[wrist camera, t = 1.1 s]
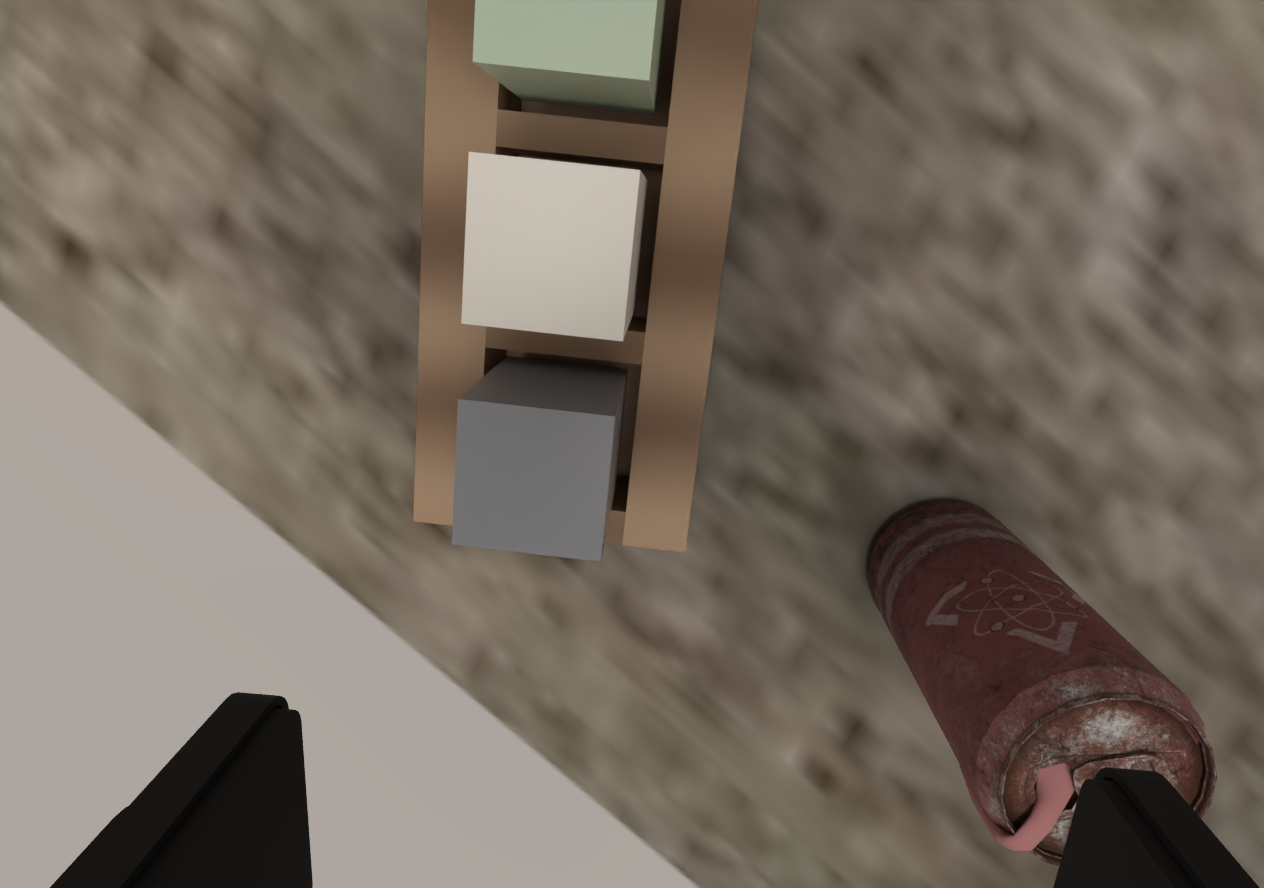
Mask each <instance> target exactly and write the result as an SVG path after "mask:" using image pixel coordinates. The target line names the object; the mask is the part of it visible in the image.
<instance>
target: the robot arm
mask: <svg viewBox="0 0 1264 888" xmlns="http://www.w3.org/2000/svg"><path fill="white" fill-rule="evenodd" d="M304 769H305V768H304V754H303V740H302V725H301V717H300V714H299V712H298V711H296V710H289V708H288V703H287V701H286V699H285V698H283V697H281V696H274V695H262V694H249V693H238V692H237V693H234V694H231V695H230V696H229V697H228V698H227V699H226V700H225V701H224V702H223V703H222V704H221V705H220V706H219V707H218V708H217V710H216V711H215V712H214V713H213V714H212V715H211V716H210V717H209V718H208V719H207V721H206V722H205V723H204V724H203V725H202V726H201V727H200V728H199V729H198V730H197V731H196V733H195V734H194V735H193V736H192V737H191V738H190V740H188V741H187V742H186V744H185V745H184V746H183V747H182V748H181V749H180V750H179V751H178V752H177V753H176V755H175V756H174V757H173V758H172V759H171V760H170V761H169V762H168V764H167V765H166V766H165V767H164V768H163V769H162V770H161V771H160V772H159V773H158V775H157V776H156V777H155V778H154V779H153V780H152V781H151V782H150V783H149V784H148V785H147V787H146V788H145V789H144V790H143V791H142V792H141V793H140V794H139V795H138V796H137V798H136V799H135V800H134V801H133V802H132V803H131V804H130V805H129V806H128V807H126V808H125V809H123V810H122V811H121V812H120V813H119V814H118V815H116V816H115V818H113V819H112V820H111V821H110V823H109V824H108V825H107V826H106V827H105V828H104V829H103V830H102V831H101V832H100V833H99V835H98V836H97V837H96V838H95V839H94V840H93V841H92V842H91V843H90V845H88V847H87V848H86V849H85V850H84V851H83V852H82V853H81V854H80V855H79V856H78V857H77V859H76V860H75V861H74V862H73V863H72V864H71V865H70V866H69V867H68V868H67V870H66V871H65V872H64V873H63V874H62V875H61V876H60V877H59V878H58V879H57V880H56V882H55V883H54V884H53V885H52V886H51V887H50V888H312V869H311V854H310V840H309V826H308V811H307V797H306V784H305V770H304ZM1054 888H1259V887H1258V885H1257V884H1256V883H1255V882H1254V881H1253V879H1252V878H1251V877H1250V876H1249V875H1248V874H1247V872H1246V871H1245V870H1244V869H1243V868H1242V867H1241V865H1240V864H1239V863H1238V862H1237V861H1236V860H1235V858H1234V857H1233V856H1232V855H1231V854H1230V852H1229V851H1228V850H1227V849H1226V848H1225V847H1224V845H1223V844H1222V843H1221V842H1220V841H1219V840H1218V838H1217V837H1216V836H1215V835H1214V834H1213V833H1212V831H1211V830H1210V829H1209V828H1208V827H1207V825H1206V824H1205V823H1204V822H1203V821H1202V820H1201V818H1200V817H1199V816H1198V815H1197V814H1196V813H1195V811H1194V810H1193V809H1192V808H1191V807H1190V805H1189V804H1188V803H1187V802H1186V801H1185V800H1184V798H1183V797H1182V796H1181V795H1180V794H1179V793H1178V791H1177V790H1176V789H1175V788H1174V787H1173V786H1172V784H1171V783H1170V782H1169V781H1168V780H1167V779H1166V778H1165V777H1164V776H1163V775H1162V774H1160V773H1157V772H1154V771H1145V770H1134V769H1122V768H1110V767H1106V768H1102V769H1101V770H1100V771H1099V772H1098V773H1097V774H1096V776H1095V779H1087V780H1086V781H1085V782H1084V783H1083V784H1082V786H1081V789H1080V792H1079V796H1078V799H1077V803H1076V807H1075V810H1074V814H1073V818H1072V822H1071V825H1070V829H1069V833H1068V836H1067V840H1066V844H1065V847H1064V851H1063V855H1062V858H1061V862H1060V866H1059V869H1058V873H1057V877H1056V880H1055V884H1054Z"/></svg>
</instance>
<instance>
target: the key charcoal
mask: <svg viewBox="0 0 1264 888" xmlns="http://www.w3.org/2000/svg"><path fill="white" fill-rule="evenodd" d="M627 375H628V369H621V368H612V367H603V366H594V365H585V364H576V363H567V362H558V361H549V360H540V359H531V358H522V357H513V356H507V357H505V358H504V359H503V360H502V361H501V362H500V363H499V364H497V365H496V366H495V367H494V368H493V369H492V370H491V371H489V372H488V373H487V374H486V375H485V376H484V377H483V378H481V379H480V380H479V381H478V382H477V383H476V384H474V385H473V386H472V387H471V388H470V389H469V390H468V391H466V392H465V393H464V394H463V395H462V396H461V397H460V398H458V410H457V433H456V456H455V479H454V502H453V525H452V545H460V546H469V547H477V548H486V549H495V550H504V551H512V552H521V553H530V554H538V555H547V556H556V557H564V558H573V559H582V560H591V561H599V562H601V558H602V553H603V548H604V543H605V538H606V533H607V528H608V523H609V518H610V513H611V508H612V502H613V497H614V492H615V487H616V481H617V472H618V462H619V452H620V443H621V433H622V423H623V414H624V404H625V394H626V385H627Z"/></svg>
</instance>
